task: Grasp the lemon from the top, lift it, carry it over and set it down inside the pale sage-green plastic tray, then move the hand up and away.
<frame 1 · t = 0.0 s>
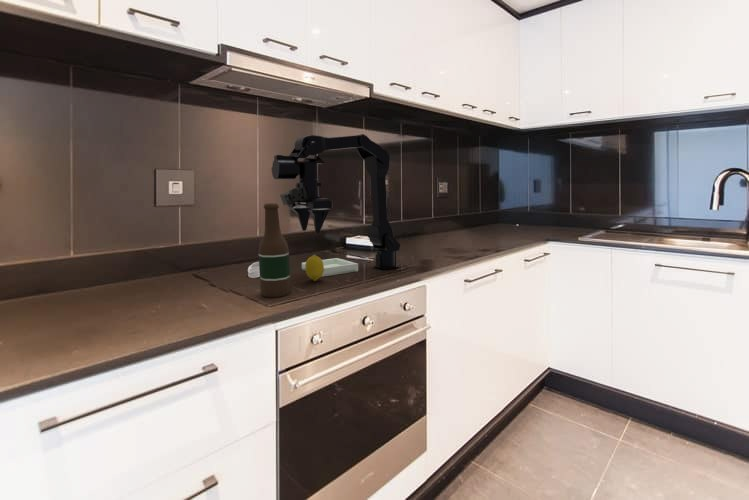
hand: (310, 231, 123), 15 cm above the counter, fingers open, 9 cm apart
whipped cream: (259, 276, 131), on the counter
tray: (329, 270, 138), on the counter
lemon: (315, 281, 123), on the counter
beer bottle: (276, 294, 109), on the counter
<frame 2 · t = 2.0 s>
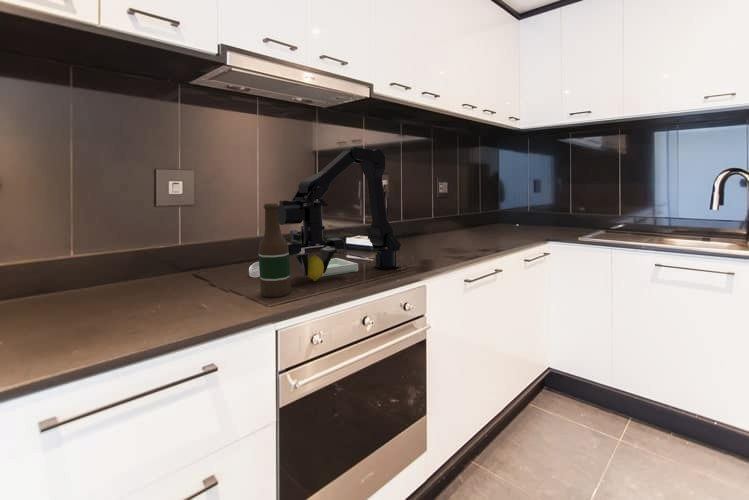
hand: (314, 274, 122), 2 cm above the counter, fingers closed on lemon, 5 cm apart
lemon: (315, 281, 123), on the counter, touching gripper
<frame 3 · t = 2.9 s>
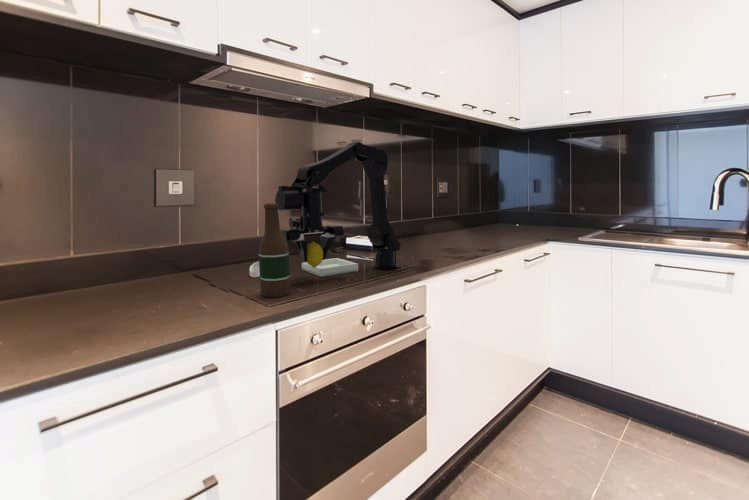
hand: (314, 261, 122), 6 cm above the counter, fingers closed on lemon, 5 cm apart
lemon: (314, 268, 122), point 4 cm above the counter, touching gripper
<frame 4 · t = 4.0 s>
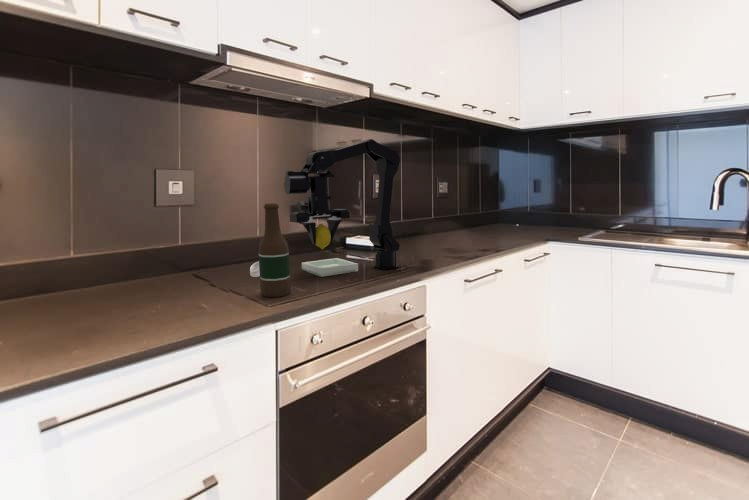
hand: (322, 243, 128), 11 cm above the counter, fingers closed on lemon, 5 cm apart
lemon: (322, 249, 129), point 8 cm above the counter, touching gripper
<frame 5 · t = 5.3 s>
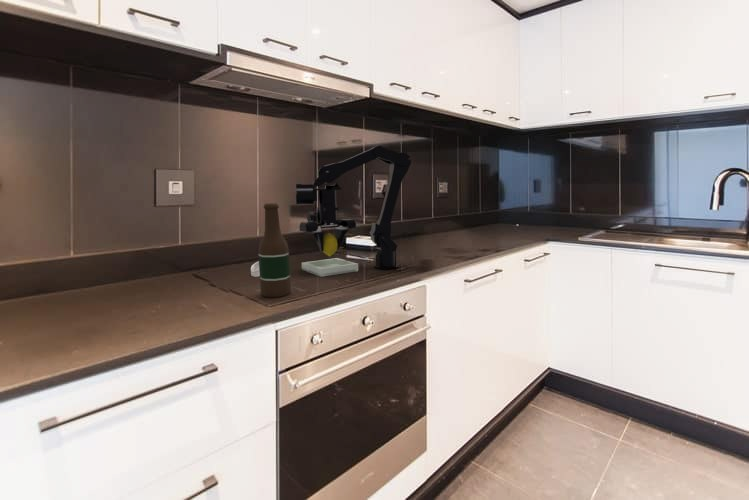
hand: (329, 250, 137), 7 cm above the counter, fingers closed on lemon, 5 cm apart
lemon: (329, 257, 137), point 5 cm above the counter, touching gripper
when the fingers open (4 cm above the counter, at t = 6.1 s): lemon drops 2 cm, resting on tray.
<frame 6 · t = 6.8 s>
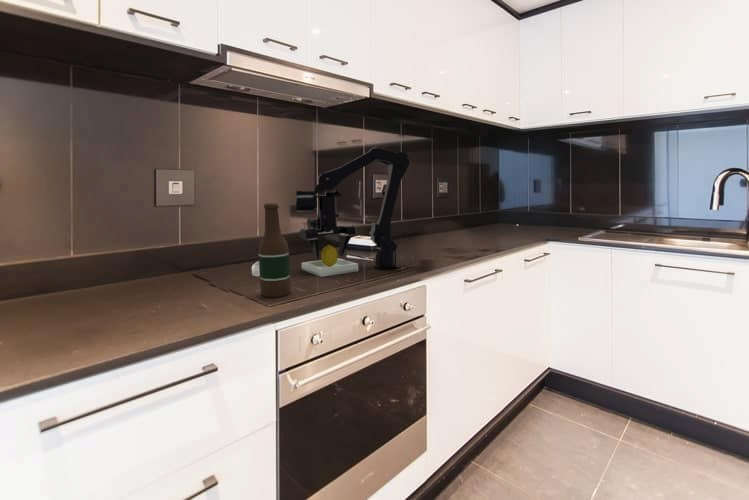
hand: (329, 257, 137), 4 cm above the counter, fingers open, 9 cm apart
lemon: (329, 268, 138), point 1 cm above the counter, touching tray
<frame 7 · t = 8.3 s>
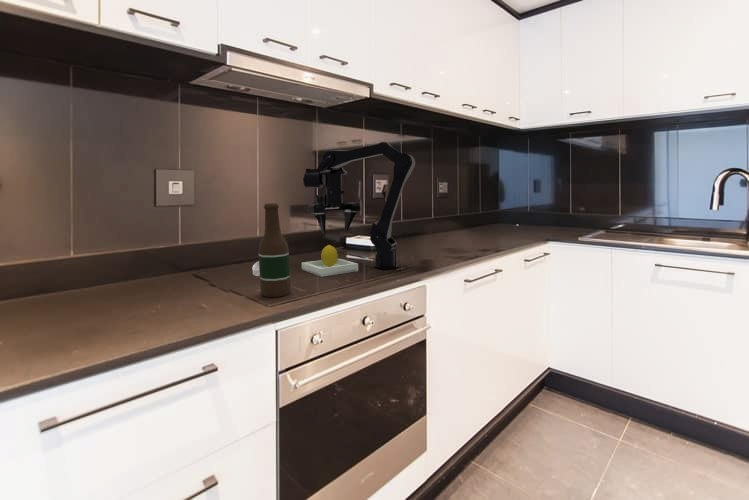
hand: (335, 232, 144), 12 cm above the counter, fingers open, 9 cm apart
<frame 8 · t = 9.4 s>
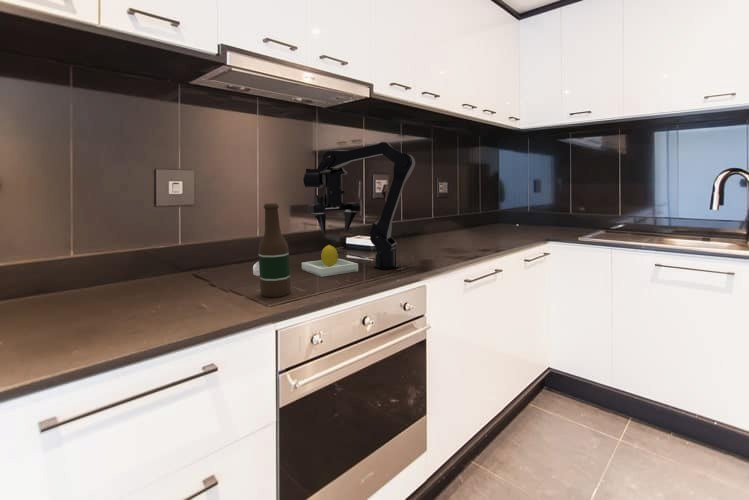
hand: (335, 232, 144), 12 cm above the counter, fingers open, 9 cm apart
at the end: lemon inside the target area on the tray (0.1 cm from its centre), point 0.6 cm above the tray's base; the gripper is holding nothing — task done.
